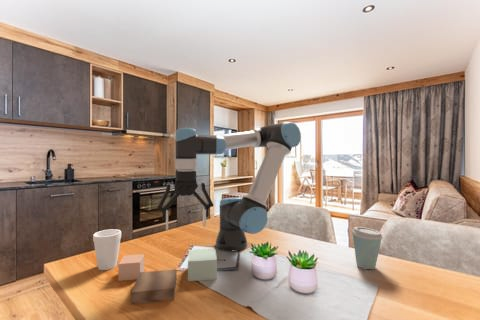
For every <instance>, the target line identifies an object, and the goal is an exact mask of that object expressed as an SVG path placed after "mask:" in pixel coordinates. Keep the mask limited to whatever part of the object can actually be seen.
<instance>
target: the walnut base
mask: <svg viewBox="0 0 480 320" xmlns="http://www.w3.org/2000/svg"><path fill="white" fill-rule="evenodd" d="M177 273H178V272H177V269H163V270H152V271H143V272H140V273H139V276H138V278H137V279H135V282H134V284H133V287H132V289H131V292H130V305H139V304H149V303H159V302H167V301H174V300H175V293H176V287H177V276H178V275H177Z"/></svg>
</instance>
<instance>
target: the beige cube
mask: <svg viewBox="0 0 480 320" xmlns="http://www.w3.org/2000/svg"><path fill="white" fill-rule="evenodd" d="M117 266H118V270H117V271H118V275H117V276H118V279H117V280H118V282H121V281H134V280H135V281H136V280H137V278H138V276H139V273H140V272H145V253H144V254H143V253H142V254H141V253H140V254H128V255H123V257H122V258H121V260H120V261H119V263H117Z"/></svg>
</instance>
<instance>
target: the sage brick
mask: <svg viewBox="0 0 480 320" xmlns="http://www.w3.org/2000/svg"><path fill="white" fill-rule="evenodd" d="M217 279H218V257H217V251H216V249H215V248H206V249H205V248H204V249H189V250H188V258H187V282H194V281H207V280H217Z"/></svg>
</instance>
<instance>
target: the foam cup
mask: <svg viewBox="0 0 480 320" xmlns="http://www.w3.org/2000/svg"><path fill="white" fill-rule="evenodd" d="M92 236H93V237H92V239H93V240H92V242H93V244H94V245H93V246H94V252H95V257H96V263H97V264H96V266H97V269H98V270H99V271H109V270H111V269H114V268H116V267H117V266H118V259H119V253H120V244H121V239H122V231H121V229H117V228H116V229H115V228H114V229H113V228H112V229H104V230H103V229H102V230H100V231H96V232H94V234H92Z"/></svg>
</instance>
